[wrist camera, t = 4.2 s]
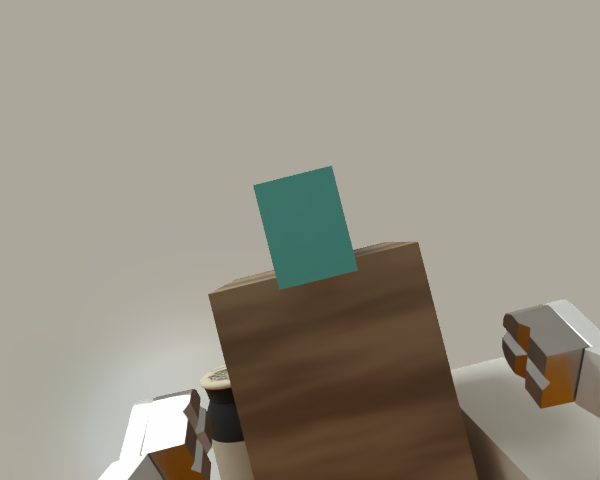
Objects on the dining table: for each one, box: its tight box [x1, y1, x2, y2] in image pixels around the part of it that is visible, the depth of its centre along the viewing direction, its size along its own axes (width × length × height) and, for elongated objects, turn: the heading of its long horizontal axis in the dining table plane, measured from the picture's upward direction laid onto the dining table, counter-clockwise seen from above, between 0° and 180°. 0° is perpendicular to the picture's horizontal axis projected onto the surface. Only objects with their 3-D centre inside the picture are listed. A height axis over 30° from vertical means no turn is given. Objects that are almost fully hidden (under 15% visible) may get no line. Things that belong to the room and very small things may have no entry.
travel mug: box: [200, 364, 254, 480], centre depth 39 cm, size 8×8×18 cm
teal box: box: [254, 166, 358, 290], centre depth 26 cm, size 20×3×4 cm, turn 0°
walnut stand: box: [208, 242, 478, 480], centre depth 29 cm, size 10×12×26 cm
